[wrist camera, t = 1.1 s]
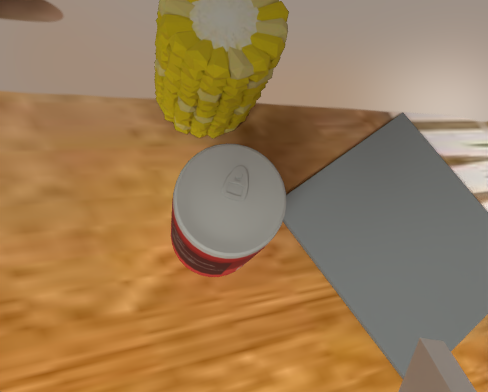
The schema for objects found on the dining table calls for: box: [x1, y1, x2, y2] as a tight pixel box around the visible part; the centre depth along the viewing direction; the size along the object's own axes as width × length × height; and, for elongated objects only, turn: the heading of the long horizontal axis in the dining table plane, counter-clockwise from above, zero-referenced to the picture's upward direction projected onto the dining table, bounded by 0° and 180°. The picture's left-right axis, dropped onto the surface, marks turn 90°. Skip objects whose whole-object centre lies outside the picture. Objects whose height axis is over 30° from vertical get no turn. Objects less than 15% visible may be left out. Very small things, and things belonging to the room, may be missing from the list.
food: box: [154, 0, 289, 139], centre depth 36 cm, size 15×12×10 cm
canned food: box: [171, 144, 286, 277], centre depth 34 cm, size 8×8×11 cm
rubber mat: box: [283, 113, 488, 379], centre depth 42 cm, size 20×18×1 cm
